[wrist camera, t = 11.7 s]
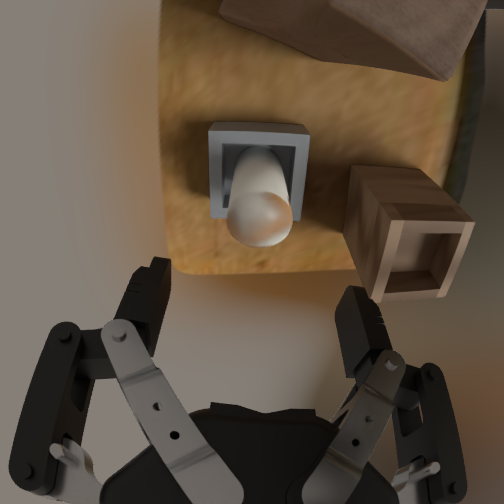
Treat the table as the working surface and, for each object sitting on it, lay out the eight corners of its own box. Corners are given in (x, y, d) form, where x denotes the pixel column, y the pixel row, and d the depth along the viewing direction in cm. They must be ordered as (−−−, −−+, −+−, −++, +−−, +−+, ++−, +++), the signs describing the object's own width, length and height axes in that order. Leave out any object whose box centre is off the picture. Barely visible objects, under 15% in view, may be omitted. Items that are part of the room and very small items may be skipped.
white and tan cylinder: (229, 153, 25) (217, 201, 18) (274, 140, 24) (283, 183, 17) (243, 193, 27) (238, 254, 20) (286, 182, 26) (298, 239, 19)
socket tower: (351, 164, 26) (391, 220, 18) (420, 169, 26) (475, 222, 18) (342, 233, 31) (369, 303, 23) (405, 233, 30) (444, 296, 22)
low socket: (214, 121, 24) (208, 130, 21) (303, 125, 24) (310, 135, 21) (215, 199, 29) (210, 218, 26) (295, 202, 29) (299, 221, 26)
